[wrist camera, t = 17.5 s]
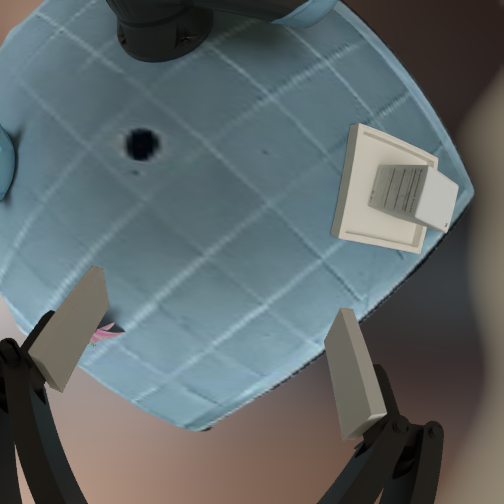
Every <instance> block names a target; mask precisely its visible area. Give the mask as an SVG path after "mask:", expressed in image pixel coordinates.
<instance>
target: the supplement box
mask: <svg viewBox="0 0 504 504" xmlns="http://www.w3.org/2000/svg"><path fill="white" fill-rule="evenodd" d="M457 192H458V185H457V184H455V183H454V182H453V181H451V180H450V179H449V178H447V177H446V176H444V175H443V174H441V173H440V172H439V171H437V170H435V169H434V168H432V167H431V166H430V165H379V167H378V170H377V173H376V177H375V181H374V184H373V188H372V191H371V195H370V199H369V202H368V206H369V207H371V208H374V209H376V210H378V211H381V212H383V213H385V214H388V215H390V216H393V217H395V218H398V219H401V220H405V221H408V222H412V223H415V224H418V225H422V226H425V227H428V228H431V229H434V230H438V231H441V232H444V233H447V231H448V228H449V224H450V221H451V217H452V213H453V209H454V205H455V201H456V197H457Z"/></svg>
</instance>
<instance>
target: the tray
mask: <svg viewBox="0 0 504 504" xmlns="http://www.w3.org/2000/svg"><path fill="white" fill-rule="evenodd" d="M379 165H430V166H431V167H432V168H434V169H435V170H437V165H438V158H437V157H435V156H433V155H431V154H429V153H427V152H425V151H423V150H421V149H419V148H417V147H415V146H413V145H411V144H408V143H406V142H404V141H402V140H400V139H397V138H395V137H393V136H391V135H388V134H386V133H384V132H381V131H379V130H376V129H374V128H371V127H369V126H366V125H363V124H361V123H357V124H354V125H351V126H350V130H349V137H348V144H347V150H346V156H345V162H344V168H343V174H342V180H341V185H340V190H339V196H338V201H337V206H336V211H335V215H334V220H333V225H332V229H331V235H333V236H335V237H337V238H340V239H345V240H351V241H356V242H362V243H367V244H372V245H378V246H383V247H388V248H393V249H398V250H403V251H408V252H413V253H418V254H420V252H421V249H422V245H423V241H424V237H425V233H426V228H427V227H425V226H422V225H418V224H415V223H412V222H408V221H405V220H401V219H398V218H395V217H393V216H390V215H388V214H385V213H383V212H381V211H378V210H376V209H374V208H371V207H369V206H368V202H369V199H370V195H371V191H372V188H373V184H374V181H375V177H376V173H377V170H378V167H379Z"/></svg>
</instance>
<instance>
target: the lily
mask: <svg viewBox="0 0 504 504" xmlns="http://www.w3.org/2000/svg"><path fill="white" fill-rule="evenodd" d="M114 323H115V322H113V323H111V324H109V325H107V326H104V327H102V328H96V330H95V332H94V334H93V335H92V337H91V339H90V341H89V342H88V344H89V343H91V344H93V343H95V342H98V341H100V340H101V339H109V338H113V337H116V336H118V335H121V334H123V333H125V332H120V333H111V332H106V330H108V329H110V328H111V327H112V326H113V325H114ZM99 329H100V330H99ZM102 330H105V331H102ZM93 346H94V345H93ZM95 346H96V345H95Z"/></svg>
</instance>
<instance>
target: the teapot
mask: <svg viewBox="0 0 504 504" xmlns="http://www.w3.org/2000/svg"><path fill="white" fill-rule="evenodd" d="M14 169H15V154H14V148H13V145H12V142H11V140H10V138H9V136H8V134H7V133H6V132H5V130H4V129H3V127H2V126H1V125H0V201H1V200H2V199H3V198H4V197H5V194H6V192H7V190H8V188H9V186H10V184H11V181H12V178H13V174H14Z"/></svg>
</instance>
